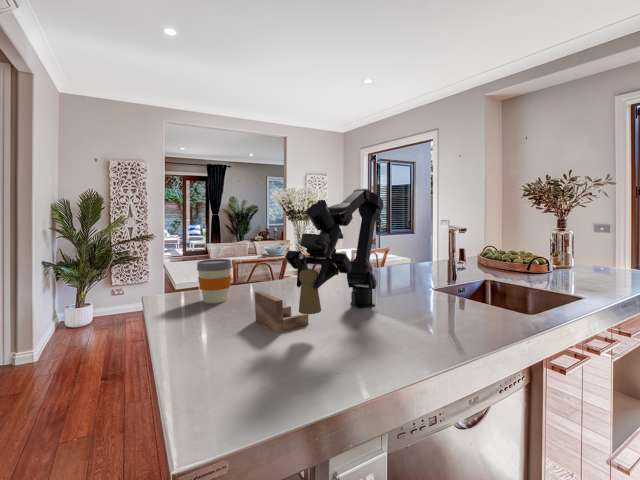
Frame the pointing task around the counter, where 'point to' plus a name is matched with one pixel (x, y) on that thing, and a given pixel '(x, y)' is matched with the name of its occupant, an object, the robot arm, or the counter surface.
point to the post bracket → (276, 313)
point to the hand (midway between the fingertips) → (306, 287)
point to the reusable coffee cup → (214, 279)
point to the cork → (309, 293)
